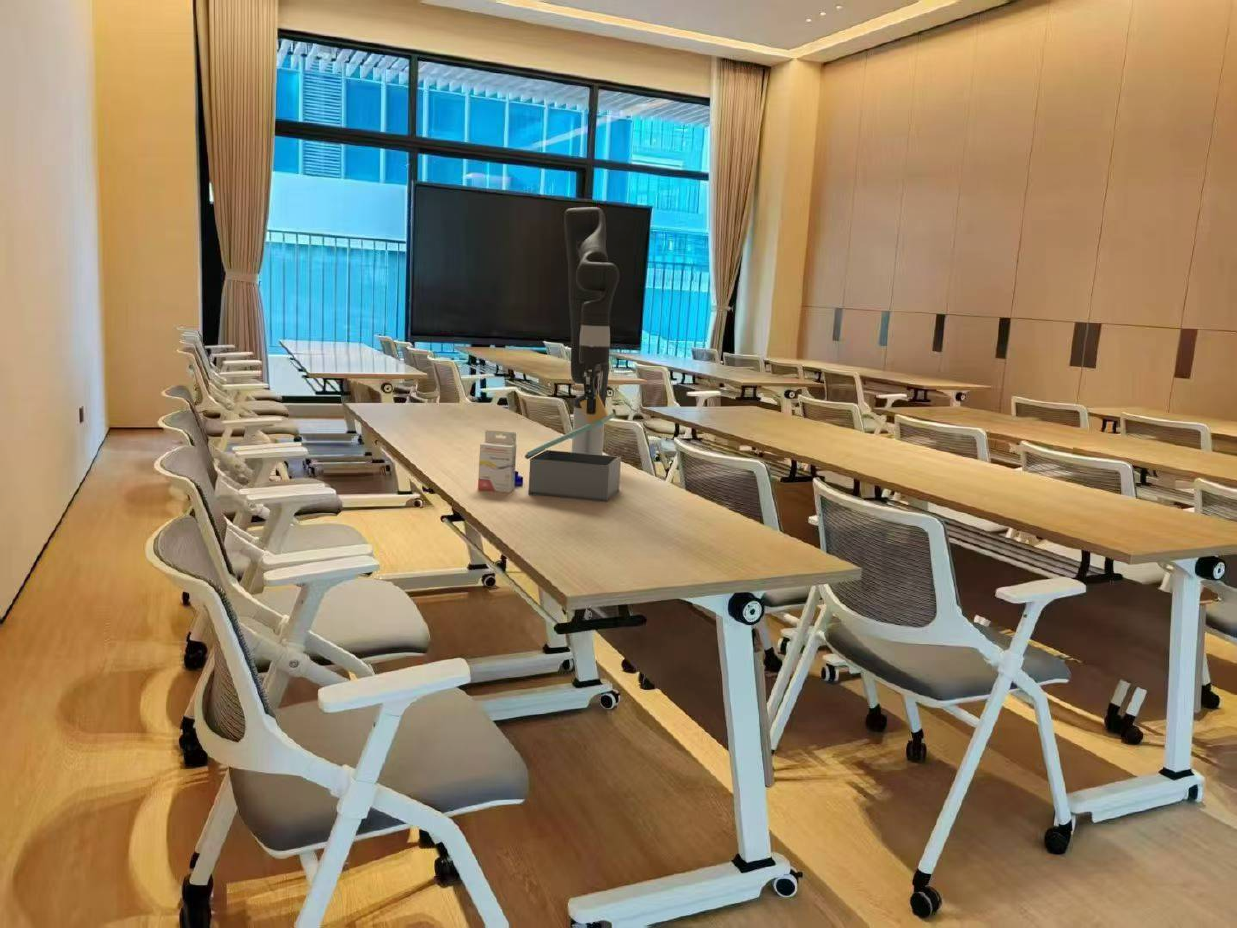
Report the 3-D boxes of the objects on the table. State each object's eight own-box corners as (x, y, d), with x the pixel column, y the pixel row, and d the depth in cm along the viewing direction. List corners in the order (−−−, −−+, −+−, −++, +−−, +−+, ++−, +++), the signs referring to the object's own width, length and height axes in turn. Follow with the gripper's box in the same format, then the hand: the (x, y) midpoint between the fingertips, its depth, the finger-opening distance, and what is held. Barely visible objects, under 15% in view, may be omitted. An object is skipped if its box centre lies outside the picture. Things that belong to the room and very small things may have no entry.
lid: (542, 450, 249) (531, 424, 248) (616, 418, 244) (604, 391, 243) (525, 460, 233) (512, 432, 232) (603, 425, 227) (590, 397, 227)
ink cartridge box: (477, 490, 236) (479, 432, 233) (481, 486, 240) (484, 429, 238) (510, 492, 235) (513, 434, 232) (514, 489, 240) (517, 432, 237)
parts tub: (545, 483, 250) (546, 449, 248) (618, 490, 246) (621, 456, 245) (528, 494, 234) (530, 458, 233) (606, 502, 231) (609, 466, 229)
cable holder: (522, 486, 245) (523, 471, 244) (510, 487, 243) (511, 472, 242) (507, 480, 251) (508, 466, 250) (496, 481, 249) (496, 466, 248)
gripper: (585, 342, 241) (583, 410, 243) (573, 344, 227) (570, 415, 230) (614, 344, 239) (611, 411, 242) (603, 346, 226) (600, 417, 229)
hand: (591, 413), depth 236 cm, fingers closed on lid
